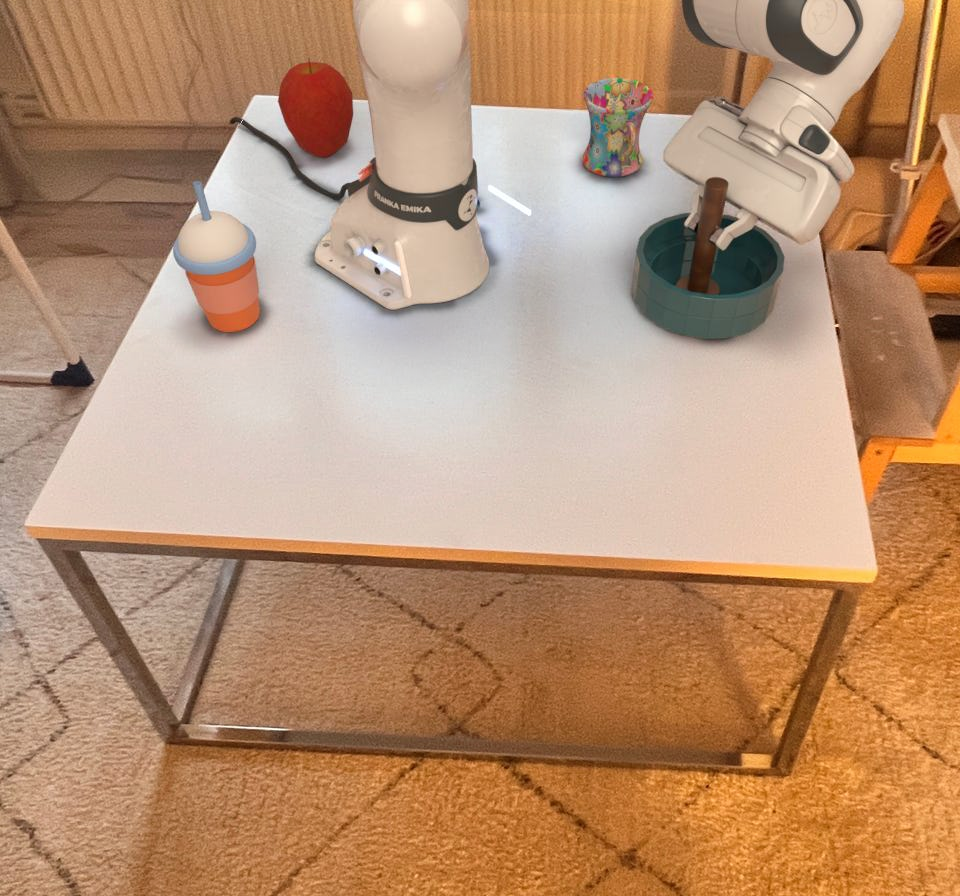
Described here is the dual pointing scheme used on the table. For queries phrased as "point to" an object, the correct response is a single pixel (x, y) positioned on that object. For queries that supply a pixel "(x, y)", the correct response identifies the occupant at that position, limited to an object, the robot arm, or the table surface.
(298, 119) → the apple
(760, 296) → the bowl
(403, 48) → the robot arm
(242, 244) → the cup with straw
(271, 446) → the table surface
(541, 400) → the table surface
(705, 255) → the wooden peg stand
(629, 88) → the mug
